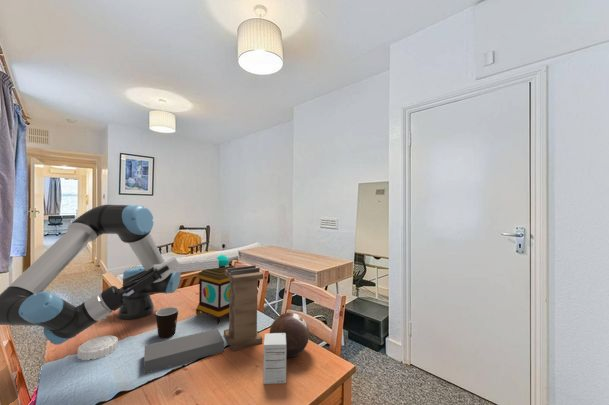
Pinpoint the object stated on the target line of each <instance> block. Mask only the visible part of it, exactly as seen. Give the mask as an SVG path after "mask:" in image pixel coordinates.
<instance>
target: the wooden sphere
mask: <svg viewBox="0 0 609 405" xmlns="http://www.w3.org/2000/svg"><path fill="white" fill-rule="evenodd" d="M269 333H286V358H292V357H296V356H298V355H299V354H301V353H302V352H303V351H304V350H305V348H306V347H307V346H308V342H309V340H310V330H309V326H308V323H307V322H306V320H305V319H304V318H303V317H302V316H301V315H300V314H297V313H295V312H284V313H282V314H280V315H279V316H277V317H276V318H275V319H274V320H273V322H272V323H271V325H270V330H269Z"/></svg>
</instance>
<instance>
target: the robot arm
mask: <svg viewBox="0 0 609 405" xmlns="http://www.w3.org/2000/svg"><path fill="white" fill-rule="evenodd" d="M153 220H154V216H153V213H152V211H151V210H150V209H149V208H148V207H146V206H144V205H138V204H102V205H98V206H96V207H93V208H91V209H89V210H88V211H84V212H83V213H82V214H81V215H79V216H78V217H76V219H74V220H73V221H72V222H71V223H70V224H68V227H67V229H68V230H66V232H65V233H64V234H63V235H61V237H59V238H58V239H57V240H56V241H55V242H54V243H53V244H52V245H51V246H50V247H49V248H48V249H47V250H46V251H45V252H43V253H42V254H41V256H39V257H38V258H37V259H36V260H35V261H34V262H33V263H32V264H31V265H30V266H29V267H27V269H25V271H23V272H22V273H21V274H20V275H19V276H18V277H17V278H16V279H15V280H14V281H12V283H10V285H9V286H7V287H6V288H5V289H4V290H3V291H2V292H1V293H0V326H27V327H29V326H32V327H33V326H35V327H36V326H37V327H41V328H43V329H42V330H43V331H42V332H43V335H44V337H45V339H46V340H47V341H49V342H50V344H53V345H57V346H58V345H61V344H63V343H66V342H68V341H69V340H71V339H73V338H75V337H76V336H77V335H79V334H81V332H84V331H85V330H87V329H89V327H91V326H93V325H95V324H96V323H97V322H99V321H101V320H102V319H103V320H106V319H107V316H109V315H111V314H112V312H113V311H117V310H118V311H117V317H118V318H119V319H120V320H135V319H139V318H143V317H147V316H148V315H151V314H153V312H154V308H155V306H154V303H153V300H152V297H151V294H174V293H175V292H176V291H177V289H178V288H179V286H180V282H181V277H182V275H181V274H182V272H178V273H169V274H164V273H166V272H168V271H169V270H171V269H173V268H174V267H176V266H177V265H179V263H178V262H179V261H178V260H177V258H176V257H175V255H173V256H172V257H170V258H168V259H166V260H165V259H164V258H163V256H162V254H161V252H160V250H159V248H158V246H157V244H156V242H155V241H154V239H153V237H152V235H151V232H152V229H153V226H154V221H153ZM106 234H107V235H110V234H111V235H112V234H113V235H117V236H118V238H119V240H121V242H123V243H125V244H129V247H130V249H131V250H132V252H133V253H134V255H135V256H136V259H138V261H139V262H140V264H141V265H138V266H137V265H136V266H135V267H134V266H133V267H130V268H127V269H125V270H124V271H123V275H122V279H121V280H122V287H120V288H118V287H117V286H116V285H112V286H111V285H110V287H108V288H106V289H105V290H103V291H102V292H100V293H97V294H96V295H94V296H92V297H91V298H89V299H86V300H85V301H84V302H82V303H81V304H79V305H77V306H75V305H73V304H72V303H69V302H68V301H67V300H65V299H63V298H62V297H60V296H59V295H57V294H55V293H52V292H50V291H44V290H46V289H47V288H48V287H49V285H50V284H51V283H52V282H53V281H54V280H55V279H56V278H57V277H58V275H60V274H61V273H62V272H63V270H65V268H66V267H67V266H68V265H69V264H70V263H71V262H72V261H73V260H74V258H75V257H76V256H78V255H79V253H81V251H82V250H83V249H84V248H85V247H86V246H87V245H88V243H90V242H94V241H95V240H96V239H97V238H98V237H100V236H102V235H106ZM157 264H164V265H162V266H161V267H159V268H157V270H158V271H157V270H155V271H154V265H157Z"/></svg>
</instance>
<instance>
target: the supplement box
mask: <svg viewBox="0 0 609 405" xmlns="http://www.w3.org/2000/svg"><path fill="white" fill-rule="evenodd" d="M262 367H263V380H262V382H263V384H264V385H271V384H272V385H273V384H286V383H287V357H286V333H270V332H269V333H264V338H263V366H262Z"/></svg>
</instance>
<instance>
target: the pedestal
mask: <svg viewBox="0 0 609 405" xmlns="http://www.w3.org/2000/svg"><path fill="white" fill-rule="evenodd" d="M234 267H235V268H227V269H226V270H225V275H226V276H227V277H228V278H229V279H230V295H229V314H228V316H229V318H228V328H226V329H223V336H224V338H225V340H226V341H227V344H228V345H229V347H230V349H231V351H232V352H234V351H239V350H242V349H245V348H250V347H252V346H256V345H260V344H262V343H263V337H262V335H261V334H260V333H259V332H258V282H259V281H261V280H263V279H264V273H262V272H261V270H260V269H261V268H260V267H257V266H256V264H253V265H246V266H245V265H244V266H237V267H236V266H234ZM258 280H259V281H258Z"/></svg>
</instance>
